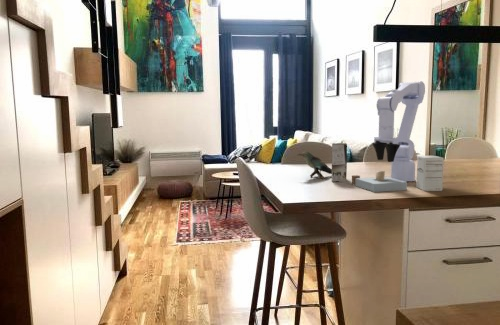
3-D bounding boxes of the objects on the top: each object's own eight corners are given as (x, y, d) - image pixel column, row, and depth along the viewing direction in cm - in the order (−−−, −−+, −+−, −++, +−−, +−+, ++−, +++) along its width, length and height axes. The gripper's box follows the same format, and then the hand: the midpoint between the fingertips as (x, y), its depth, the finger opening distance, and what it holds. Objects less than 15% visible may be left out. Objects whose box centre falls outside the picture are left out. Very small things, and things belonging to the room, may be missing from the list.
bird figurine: (329, 172, 202) (312, 137, 195) (343, 175, 194) (326, 139, 187) (310, 188, 198) (292, 154, 191) (323, 192, 189) (304, 156, 182)
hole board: (386, 183, 173) (386, 176, 173) (406, 189, 159) (406, 182, 159) (355, 185, 170) (355, 178, 169) (373, 191, 156) (373, 183, 156)
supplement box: (415, 187, 164) (416, 155, 163) (434, 187, 164) (436, 155, 163) (422, 191, 157) (424, 157, 155) (442, 190, 157) (444, 157, 155)
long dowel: (381, 186, 166) (381, 170, 166) (385, 188, 163) (386, 171, 163) (374, 187, 166) (374, 171, 165) (378, 188, 163) (379, 172, 162)
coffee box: (346, 182, 179) (347, 144, 177) (331, 181, 180) (331, 144, 178) (346, 178, 188) (346, 142, 186) (331, 178, 189) (332, 142, 187)
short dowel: (357, 183, 175) (357, 175, 175) (361, 184, 172) (361, 176, 172) (350, 183, 175) (350, 175, 174) (354, 185, 172) (354, 176, 171)
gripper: (367, 126, 174) (367, 159, 175) (387, 127, 160) (386, 163, 161) (383, 126, 175) (382, 158, 177) (403, 127, 161) (402, 162, 163)
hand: (385, 160), depth 169 cm, fingers open, 7 cm apart
